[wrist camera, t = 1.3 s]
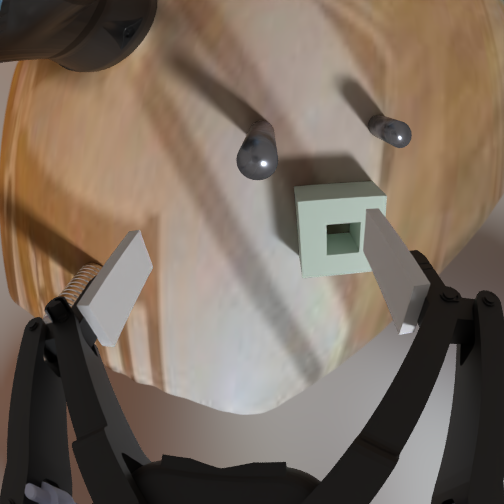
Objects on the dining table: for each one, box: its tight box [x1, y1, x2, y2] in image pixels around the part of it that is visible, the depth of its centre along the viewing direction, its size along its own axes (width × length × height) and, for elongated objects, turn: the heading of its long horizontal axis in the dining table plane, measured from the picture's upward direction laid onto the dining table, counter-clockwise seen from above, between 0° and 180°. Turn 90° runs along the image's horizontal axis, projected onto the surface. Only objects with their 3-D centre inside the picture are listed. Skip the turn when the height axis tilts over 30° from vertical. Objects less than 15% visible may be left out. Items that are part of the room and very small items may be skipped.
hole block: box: [294, 181, 387, 278], centre depth 34 cm, size 10×10×5 cm
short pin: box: [368, 115, 412, 148], centre depth 26 cm, size 3×3×6 cm
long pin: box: [237, 121, 278, 180], centre depth 25 cm, size 3×3×14 cm
